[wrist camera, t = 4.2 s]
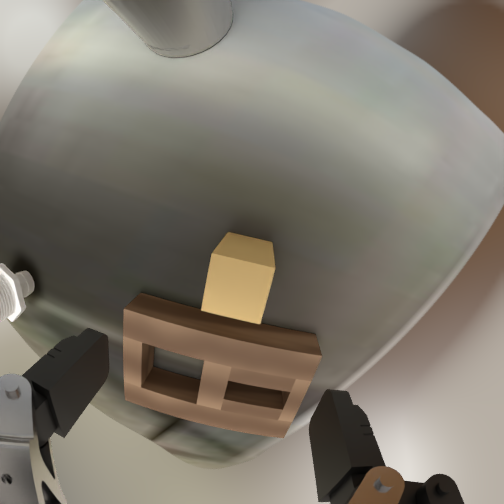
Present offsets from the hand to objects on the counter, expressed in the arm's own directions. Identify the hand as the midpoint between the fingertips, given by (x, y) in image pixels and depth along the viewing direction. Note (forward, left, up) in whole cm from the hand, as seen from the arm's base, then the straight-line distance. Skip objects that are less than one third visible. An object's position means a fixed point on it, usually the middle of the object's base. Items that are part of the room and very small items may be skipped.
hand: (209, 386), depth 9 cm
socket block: (+12, 0, -17) cm, 21 cm away
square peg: (0, 0, -17) cm, 17 cm away
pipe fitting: (+10, -27, -17) cm, 34 cm away
